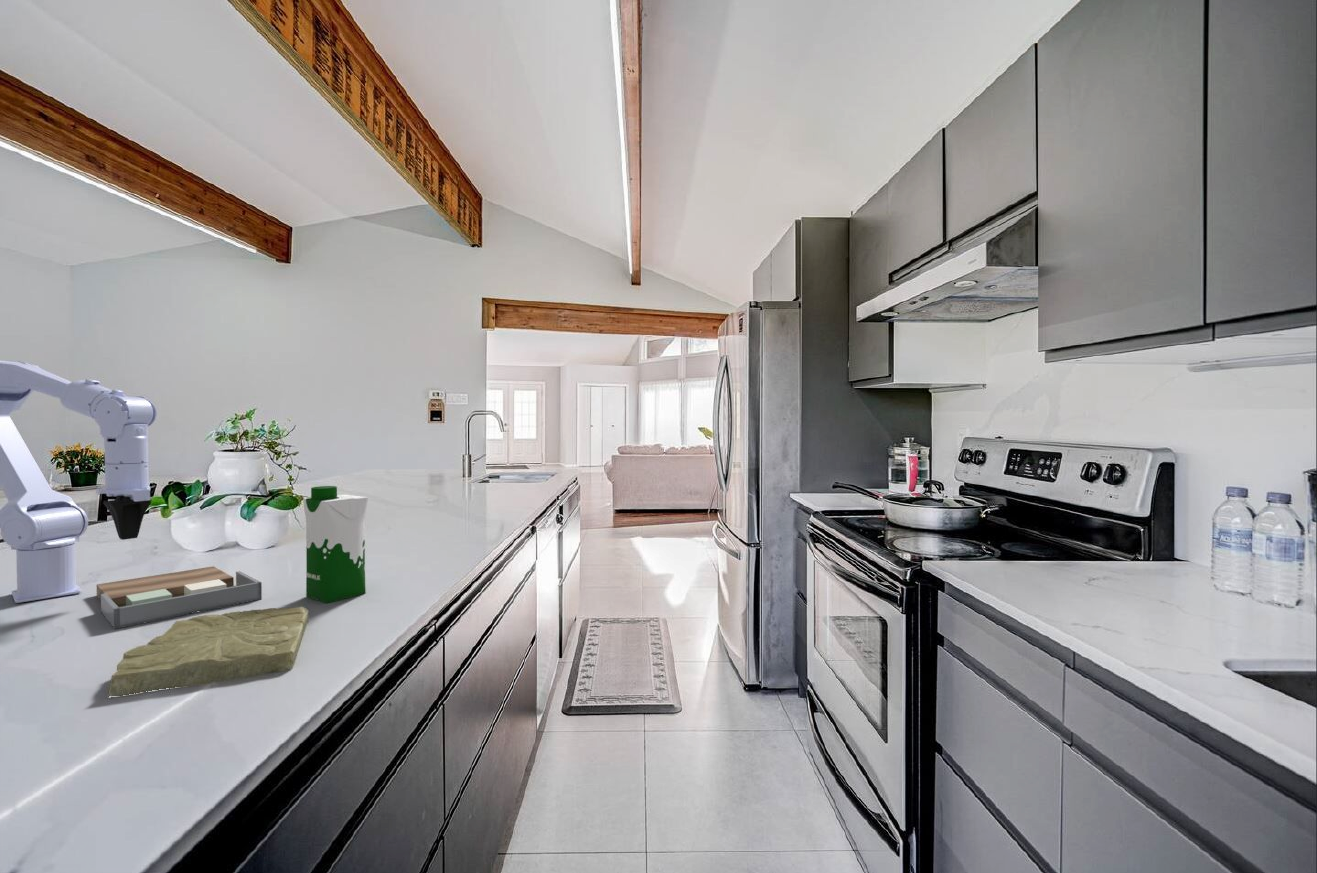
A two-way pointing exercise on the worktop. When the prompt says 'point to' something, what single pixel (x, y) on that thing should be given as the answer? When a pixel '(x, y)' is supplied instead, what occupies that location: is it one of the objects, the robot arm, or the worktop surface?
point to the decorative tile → (213, 650)
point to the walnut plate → (161, 583)
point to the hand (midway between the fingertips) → (128, 538)
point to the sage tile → (147, 597)
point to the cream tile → (204, 587)
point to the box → (181, 603)
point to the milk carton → (334, 544)
